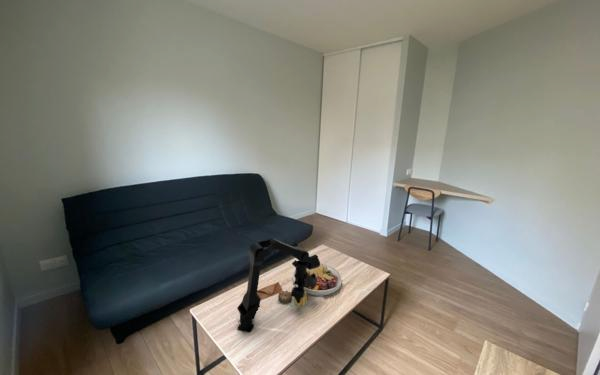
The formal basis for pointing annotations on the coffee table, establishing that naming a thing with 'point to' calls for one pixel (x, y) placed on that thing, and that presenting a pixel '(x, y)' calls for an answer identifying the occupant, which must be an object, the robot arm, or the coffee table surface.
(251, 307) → the robot arm
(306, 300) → the gear board
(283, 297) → the gear
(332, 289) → the bowl
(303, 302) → the gear
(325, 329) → the coffee table surface
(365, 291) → the coffee table surface
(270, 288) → the sunglasses case
